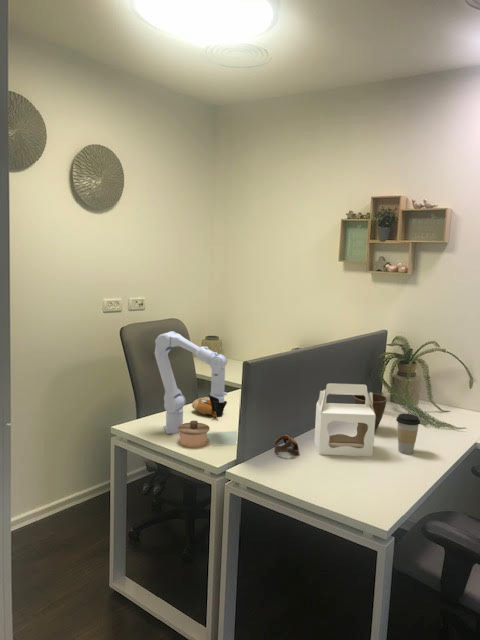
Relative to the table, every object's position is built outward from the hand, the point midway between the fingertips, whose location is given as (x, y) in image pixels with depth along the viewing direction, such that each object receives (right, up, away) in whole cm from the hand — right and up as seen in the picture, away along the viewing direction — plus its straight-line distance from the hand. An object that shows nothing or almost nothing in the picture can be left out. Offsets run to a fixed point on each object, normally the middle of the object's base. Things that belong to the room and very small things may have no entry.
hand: (216, 414), depth 217 cm
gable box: (+53, -14, -7) cm, 55 cm away
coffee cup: (+79, -14, -7) cm, 80 cm away
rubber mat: (+4, -11, -1) cm, 11 cm away
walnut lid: (-9, -5, -7) cm, 13 cm away
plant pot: (+69, -11, +17) cm, 72 cm away
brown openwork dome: (+29, -13, -12) cm, 34 cm away
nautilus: (-5, -7, +30) cm, 32 cm away
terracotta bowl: (-10, -11, -6) cm, 16 cm away
